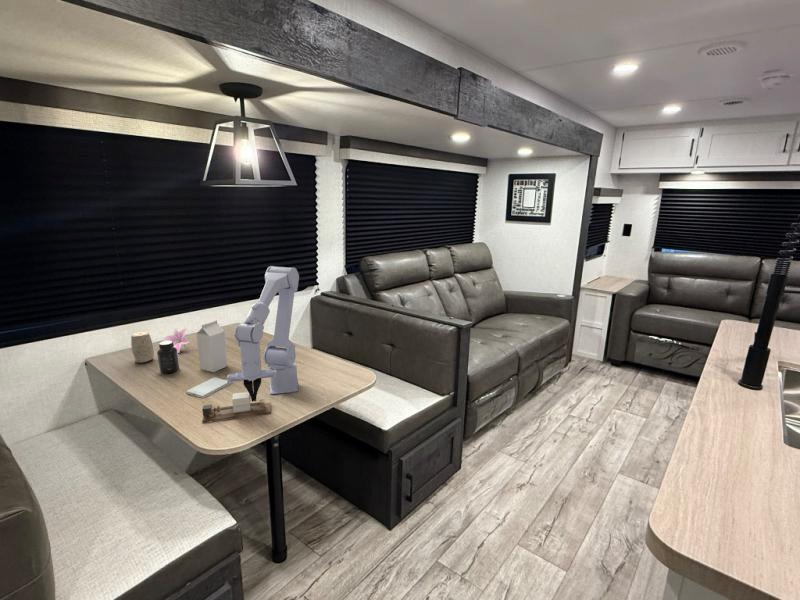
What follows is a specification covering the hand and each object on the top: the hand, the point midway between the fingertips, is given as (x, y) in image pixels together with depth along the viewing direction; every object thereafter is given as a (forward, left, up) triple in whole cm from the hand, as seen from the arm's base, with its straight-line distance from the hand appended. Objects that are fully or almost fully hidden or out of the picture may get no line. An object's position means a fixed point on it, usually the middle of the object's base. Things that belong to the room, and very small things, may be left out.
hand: (254, 399), depth 133 cm
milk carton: (+16, -40, -4) cm, 43 cm away
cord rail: (+5, 0, -4) cm, 6 cm away
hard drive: (+16, -21, -5) cm, 27 cm away
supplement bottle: (+32, -41, -4) cm, 52 cm away
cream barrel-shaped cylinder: (+44, -55, -4) cm, 71 cm away
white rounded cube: (+4, 0, -3) cm, 5 cm away
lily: (+33, -65, -4) cm, 73 cm away
